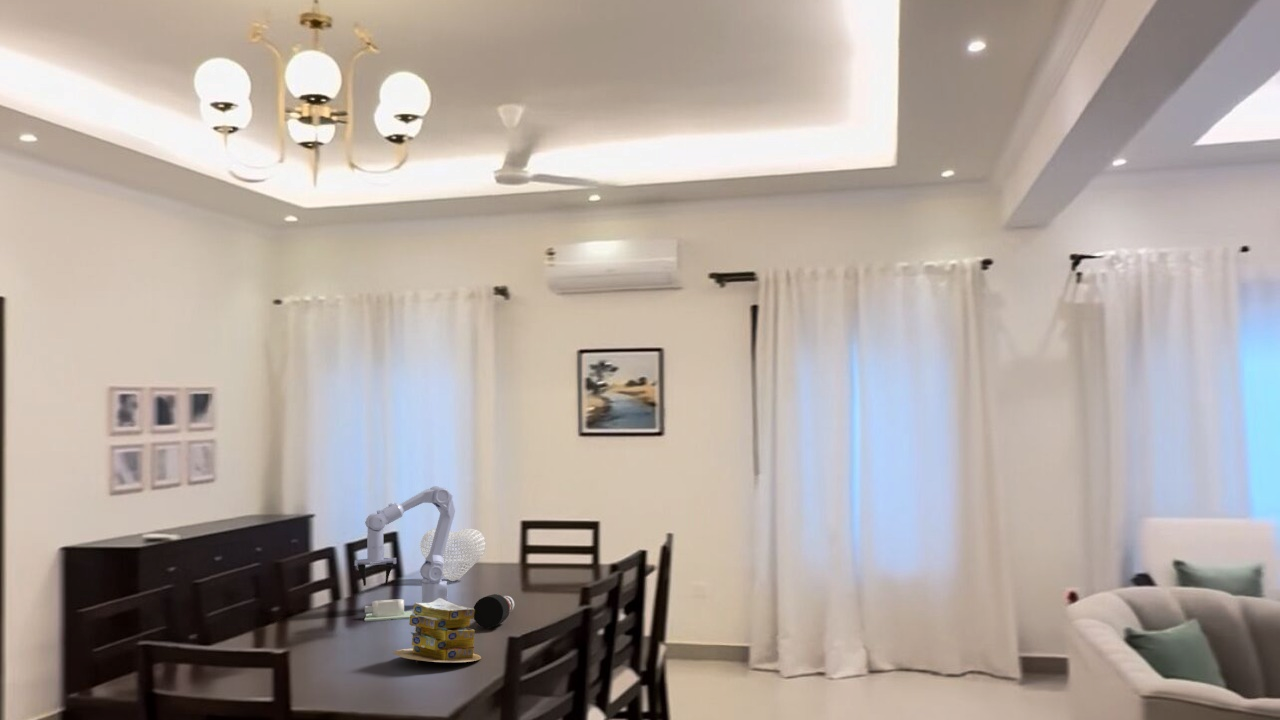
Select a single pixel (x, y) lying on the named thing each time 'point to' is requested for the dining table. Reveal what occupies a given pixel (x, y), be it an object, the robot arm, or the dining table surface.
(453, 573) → the heart
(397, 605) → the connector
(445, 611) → the stacked yellow boxes
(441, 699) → the dining table surface
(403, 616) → the mat
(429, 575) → the robot arm
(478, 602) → the dark bottle
